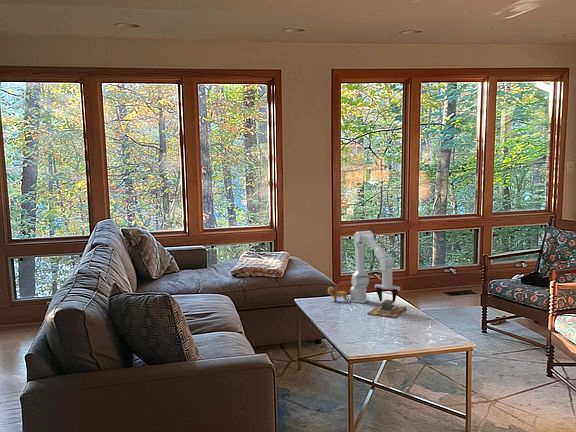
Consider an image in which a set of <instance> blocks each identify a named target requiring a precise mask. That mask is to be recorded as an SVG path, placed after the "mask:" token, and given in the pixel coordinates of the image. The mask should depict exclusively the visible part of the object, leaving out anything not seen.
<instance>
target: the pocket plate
mask: <svg viewBox="0 0 576 432" xmlns="http://www.w3.org/2000/svg"><path fill="white" fill-rule="evenodd" d="M381 304H382V303H379V304H378V305H376V307H374V308H372V309H371V310H370V311H369V312H367V315H369V316H376V317H383V318H392V319H396V318H398V317H399V316H400V315H401V314H402V313H403V312H404V311H406V310H407V306H401V305H397V304H393V308H392V309H391V310H382V305H381Z"/></svg>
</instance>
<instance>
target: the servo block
mask: <svg viewBox="0 0 576 432" xmlns="http://www.w3.org/2000/svg"><path fill="white" fill-rule="evenodd" d="M380 304H381V305H382V310H391V309H392V308H393V305H394V303H393V302H392V299H389V298H387V299H385V300H382V301H381V303H380Z"/></svg>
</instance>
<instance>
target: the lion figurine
mask: <svg viewBox="0 0 576 432" xmlns="http://www.w3.org/2000/svg"><path fill="white" fill-rule="evenodd" d="M327 293H328V294H329V295H330V296H331V297H333V301H334V303H335V301H337V298H343V299H344V300H343V302H345V303H346V304H348V303H349V302H350V303H352V302H351V301H350V297H349V295H348V292H347V291H345V290H343V291H339V290H338V289H337V288H335V287H334V286H330V287H327Z"/></svg>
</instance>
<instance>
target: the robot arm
mask: <svg viewBox="0 0 576 432" xmlns="http://www.w3.org/2000/svg"><path fill="white" fill-rule="evenodd" d="M353 244H354V256H355V257H354V258H355V272H353V273H352V275H351V281H350V282H351V287H350V290H349V294H350V295H349V300H350V301H351V302H350V301H349V302H350V303H358V304H359V303H360V304H366V302H369V299H368V298H367V288H368V285H369V283H370V278H369V273H367V272H366V271H365V269H366V268H365V245H366V244H367V245H368V246H370V247H371V249H372V250H373V251H374V256H376V258H377V259H378V260H379V265H380V270H381V284H377V283H376V284H374V289H375V292H376V294H377V296H378V299H379V302H383V290H392V291H391V293H392V296H391V297H392V299H391V300H392V302H393V304H395V303H396V297H397V296H398V293H399V291H401V286H397V285H393V268H394V266H395V259H394V257H393V256H390V255H388V253H387V252H386V250H385V249H384V248H382V247H380V246H379V244H378V243H377V241H376V240H375V237H374V233H373V232H372V231H371V230H364V231H363V230H362V231H355V233H354V234H353Z"/></svg>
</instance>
